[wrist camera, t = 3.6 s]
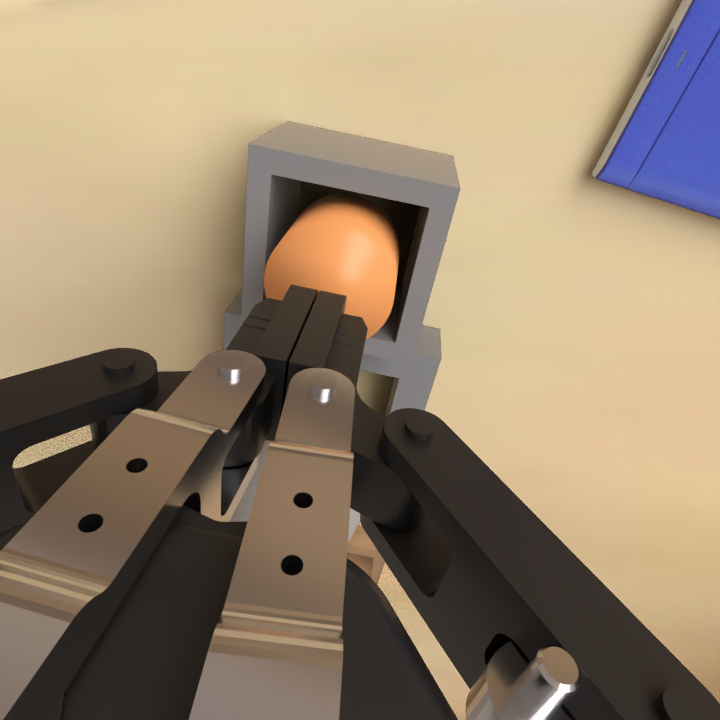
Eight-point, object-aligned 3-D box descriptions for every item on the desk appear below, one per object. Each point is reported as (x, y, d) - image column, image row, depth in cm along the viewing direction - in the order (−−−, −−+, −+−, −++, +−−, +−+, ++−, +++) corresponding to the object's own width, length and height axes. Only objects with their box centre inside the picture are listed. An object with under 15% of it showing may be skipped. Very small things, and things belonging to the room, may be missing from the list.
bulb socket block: (491, 163, 19) (509, 198, 15) (397, 468, 28) (391, 542, 24) (250, 113, 19) (199, 133, 15) (236, 434, 28) (203, 502, 24)
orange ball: (411, 206, 17) (408, 241, 14) (387, 309, 19) (380, 358, 16) (296, 182, 17) (268, 212, 14) (286, 287, 19) (260, 333, 16)
